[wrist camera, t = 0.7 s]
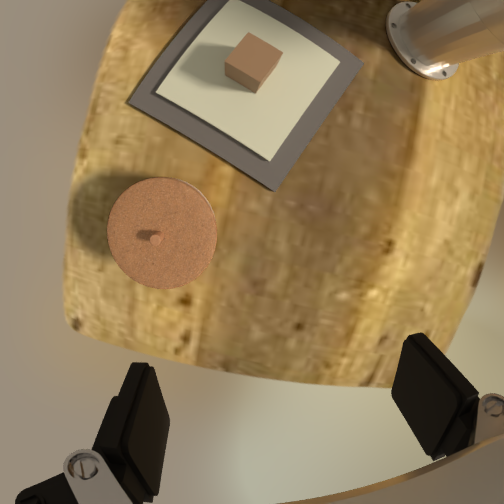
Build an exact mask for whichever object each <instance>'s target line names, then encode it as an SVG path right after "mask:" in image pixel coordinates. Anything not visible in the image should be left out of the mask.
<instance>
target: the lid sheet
mask: <svg viewBox="0 0 504 504" xmlns="http://www.w3.org/2000/svg"><path fill="white" fill-rule="evenodd" d="M339 63H340V61H339V60H337V59H336V58H334V57H333V56H332V55H330V54H329V53H327V52H326V51H325V50H323V49H322V48H320V47H319V46H317V45H316V44H314V43H313V42H311V41H310V40H308V39H307V38H305V37H304V36H302V35H301V34H299V33H297V32H296V31H294V30H293V29H291V28H289V27H288V26H286V25H284V24H283V23H281V22H279V21H277V20H276V19H274V18H272V17H270V16H269V15H267V14H265V13H263V12H261V11H259V10H258V9H256V8H254V7H252V6H250V5H248V4H246V3H244V2H242V1H240V0H229V1H228V2H227V3H226V4H225V6H224V7H223V8H222V9H221V10H220V11H219V12H218V13H217V14H216V15H215V16H214V18H213V19H212V20H211V21H210V22H209V23H208V24H207V26H206V27H205V28H204V29H203V30H202V32H201V33H200V34H199V35H198V36H197V38H196V39H195V40H194V41H193V42H192V44H191V45H190V46H189V47H188V49H187V50H186V51H185V52H184V54H183V55H182V56H181V58H180V59H179V60H178V62H177V63H176V64H175V66H174V67H173V68H172V70H171V71H170V72H169V74H168V75H167V77H166V78H165V79H164V81H163V82H162V84H161V85H160V86H159V88H158V89H157V91H156V93H157V94H159V95H161V96H162V97H164V98H166V99H168V100H170V101H172V102H173V103H175V104H177V105H179V106H180V107H182V108H184V109H186V110H187V111H189V112H191V113H193V114H194V115H196V116H198V117H199V118H201V119H203V120H204V121H206V122H208V123H209V124H211V125H213V126H214V127H216V128H218V129H219V130H221V131H223V132H224V133H226V134H227V135H229V136H231V137H232V138H234V139H235V140H237V141H239V142H240V143H242V144H243V145H245V146H246V147H248V148H249V149H251V150H253V151H254V152H256V153H257V154H259V155H260V156H262V157H263V158H265V159H266V160H268V161H271V159H272V158H273V156H274V155H275V153H276V152H277V150H278V149H279V148H280V146H281V145H282V143H283V142H284V140H285V139H286V137H287V136H288V135H289V133H290V132H291V130H292V129H293V127H294V126H295V125H296V123H297V122H298V120H299V119H300V117H301V116H302V115H303V113H304V112H305V110H306V109H307V108H308V106H309V105H310V103H311V102H312V100H313V99H314V98H315V96H316V95H317V94H318V92H319V91H320V89H321V88H322V87H323V85H324V84H325V82H326V81H327V80H328V78H329V77H330V76H331V74H332V73H333V71H334V70H335V69H336V67H337V66H338V65H339Z"/></svg>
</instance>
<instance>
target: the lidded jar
mask: <svg viewBox="0 0 504 504" xmlns="http://www.w3.org/2000/svg"><path fill="white" fill-rule="evenodd" d="M107 239H108V244H109V248H110V251H111V253H112V255H113V257H114V259H115V261H116V263H117V264H118V265H119V267H120V268H121V269H122V270H123V271H124V272H125V273H126V274H127V275H128V276H129V277H130V278H132V279H133V280H135V281H137V282H138V283H140V284H143V285H145V286H148V287H152V288H157V289H171V288H176V287H180V286H183V285H185V284H188V283H190V282H191V281H193V280H194V279H196V278H197V277H198V276H199V275H200V274H202V272H203V271H204V270H205V269H206V268H207V266H208V265H209V263H210V261H211V259H212V257H213V254H214V252H215V247H216V242H217V227H216V220H215V216H214V212H213V210H212V208H211V205H210V203H209V202H208V200H207V199H206V197H205V196H204V195H203V194H202V193H201V192H200V191H199V190H198V189H197V188H195V187H194V186H193V185H191V184H189V183H187V182H185V181H182V180H180V179H175V178H168V177H154V178H148V179H145V180H142V181H139V182H137V183H135V184H133V185H131V186H130V187H129V188H127V189H126V190H125V191H124V192H123V193H122V194H121V195H120V196H119V197H118V199H117V200H116V202H115V203H114V205H113V207H112V209H111V211H110V215H109V218H108V224H107Z"/></svg>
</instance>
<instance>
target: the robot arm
mask: <svg viewBox="0 0 504 504" xmlns="http://www.w3.org/2000/svg"><path fill="white" fill-rule="evenodd" d="M386 30H387V34H388V38H389V40H390V43H391V45H392V47H393V48H394V50H395V52H396V53H397V55H398V56H399V57H400V59H401V60H402V61H403V62H404V63H405V64H406V65H407V66H408V67H409V68H410V69H411V70H413V71H414V72H415V73H417V74H419V75H420V76H422V77H424V78H427V79H430V80H444V79H447V78H449V77H451V76H452V75H453V74H454V73H455V72H456V70H457V68H458V65H459V63H461V62H465V61H468V60H471V59H475V58H478V57H482V56H486V55H489V54H493V53H497V52H501V51H504V0H422V1H420V2H419V3H415V2H408V1H406V2H401V3H399V4H396V5H395V6H394V7H393V8H391V10H390V11H389V12H388V15H387V18H386ZM391 394H392V398H393V400H394V401H395V403H396V405H397V406H398V408H399V410H400V411H401V413H402V415H403V416H404V418H405V419H406V421H407V423H408V425H409V426H410V428H411V430H412V431H413V433H414V435H415V436H416V438H417V440H418V441H419V443H420V445H421V447H422V448H423V450H424V452H425V453H426V455H428V456H431V457H432V460H433V461H435V460H437V459H439V458H442V457H444V456H445V455H446V458H444V459H441V460H439V461H436V462H434V463H432V464H429V465H427V466H424V467H422V468H419V469H417V470H414V471H411V472H408V473H406V474H403V475H400V476H397V477H395V478H391V479H388V480H385V481H382V482H378V483H375V484H372V485H368V486H365V487H361V488H357V489H353V490H349V491H345V492H341V493H337V494H333V495H328V496H323V497H317V498H312V499H306V500H300V501H294V502H286V503H279V504H504V397H503V396H501V395H499V394H495V393H494V394H493V393H490V394H486V395H484V396H483V397H482V398H481V399H480V398H479V397H478V394H479V392H478V391H477V390H476V389H475V388H474V386H473V385H472V384H471V383H470V382H469V381H468V380H467V379H466V378H465V377H464V376H463V375H462V373H461V372H460V371H459V370H458V369H457V368H456V367H455V366H454V365H453V364H452V363H451V362H450V360H449V359H448V358H447V357H446V356H445V355H444V354H443V353H442V352H441V351H440V350H439V349H438V348H437V347H436V346H435V345H434V344H433V343H432V342H431V341H430V340H429V339H428V337H427V336H426V335H425V334H423V333H416V334H412V335H409V336H408V337H407V339H406V340H404V342H403V346H402V351H401V355H400V359H399V364H398V368H397V372H396V375H395V379H394V383H393V387H392V390H391ZM169 426H170V418H169V414H168V411H167V408H166V405H165V402H164V399H163V396H162V393H161V389H160V387H159V383H158V380H157V376H156V373H155V369H154V367H150V366H149V364H148V363H137V362H133V363H132V364H131V365H130V368H129V370H128V373H127V375H126V378H125V380H124V382H123V385H122V387H121V390H120V392H119V395H118V396H114V397H113V398H112V399H111V401H110V404H109V406H108V409H107V411H106V414H105V416H104V419H103V421H102V424H101V427H100V429H99V432H98V434H97V437H96V439H95V442H94V445H93V447H92V450H89V449H81V450H77V451H75V452H73V453H71V454H70V455H69V456H68V457H67V458H66V460H65V462H64V465H63V470H64V472H63V473H61V474H59V475H57V476H54V477H52V478H50V479H48V480H45V481H43V482H41V483H38V484H36V485H34V486H31V487H29V488H26V489H24V490H23V491H21V492H20V493H19V494H18V496H17V498H16V500H15V504H143V502H150V503H152V502H153V496H157V495H158V493H159V488H160V481H161V474H162V468H163V462H164V455H165V449H166V444H167V438H168V431H169Z"/></svg>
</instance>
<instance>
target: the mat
mask: <svg viewBox="0 0 504 504" xmlns="http://www.w3.org/2000/svg"><path fill="white" fill-rule="evenodd" d="M228 1H229V0H207V1H206V2H205V3H204V5H203V6H202V7H201V8H200V9H199V10H198V11H197V12H196V13H195V14H194V16H193V17H192V18H191V19H190V20H189V21H188V23H187V24H186V25H185V26H184V27H183V28H182V30H181V31H180V32H179V33H178V34H177V36H176V37H175V38H174V39H173V41H172V42H171V43H170V44H169V46H168V47H167V48H166V50H165V51H164V52H163V53H162V55H161V56H160V57H159V59H158V60H157V61H156V63H155V64H154V66H153V67H152V68H151V70H150V71H149V73H148V74H147V75H146V77H145V78H144V80H143V81H142V83H141V84H140V86H139V87H138V88H137V90H136V91H135V93H134V95H133V96H132V98H131V99H130V101H129V102H128V103H130V104H132V105H133V106H135V107H137V108H139V109H141V110H142V111H144V112H146V113H148V114H149V115H151V116H153V117H155V118H156V119H158V120H160V121H162V122H163V123H165V124H167V125H169V126H170V127H172V128H174V129H175V130H177V131H179V132H181V133H182V134H184V135H186V136H187V137H189V138H191V139H192V140H194V141H196V142H197V143H199V144H201V145H202V146H204V147H205V148H207V149H209V150H210V151H212V152H214V153H215V154H217V155H218V156H220V157H222V158H223V159H225V160H226V161H228V162H230V163H231V164H233V165H234V166H236V167H237V168H239V169H241V170H242V171H244V172H245V173H247V174H248V175H250V176H251V177H253V178H254V179H256V180H258V181H259V182H261V183H262V184H264V185H265V186H267V187H268V188H270V189H271V190H273V191H274V192H276V190H277V189H278V187H279V186H280V184H281V183H282V181H283V180H284V178H285V177H286V175H287V174H288V172H289V171H290V170H291V168H292V167H293V165H294V164H295V162H296V161H297V159H298V158H299V156H300V155H301V153H302V152H303V150H304V149H305V148H306V146H307V145H308V143H309V142H310V140H311V139H312V137H313V136H314V134H315V133H316V132H317V130H318V129H319V127H320V126H321V124H322V123H323V121H324V120H325V119H326V117H327V116H328V114H329V113H330V111H331V110H332V108H333V107H334V106H335V104H336V103H337V101H338V100H339V98H340V97H341V96H342V94H343V93H344V91H345V90H346V88H347V87H348V86H349V84H350V83H351V81H352V80H353V78H354V77H355V76H356V74H357V73H358V71H359V70H360V68H361V67H362V66H363V64H364V63H363V62H362V61H361V60H359V59H358V58H357V57H356V56H354V55H353V54H352V53H350V52H349V51H348V50H346V49H345V48H344V47H342V46H341V45H340V44H338V43H337V42H335V41H334V40H333V39H331V38H330V37H328V36H327V35H325V34H324V33H322V32H321V31H319V30H318V29H316V28H315V27H313V26H312V25H310V24H309V23H307V22H305V21H304V20H302V19H301V18H299V17H297V16H296V15H294V14H292V13H291V12H289V11H287V10H285V9H284V8H282V7H280V6H278V5H277V4H275V3H273V2H271V1H269V0H240V1H242V2H244V3H246V4H248V5H250V6H252V7H254V8H256V9H258V10H259V11H261V12H263V13H265V14H267V15H269V16H270V17H272V18H274V19H276V20H277V21H279V22H281V23H283V24H284V25H286V26H288V27H289V28H291V29H293V30H294V31H296V32H297V33H299V34H301V35H302V36H304V37H305V38H307V39H308V40H310V41H311V42H313V43H314V44H316V45H317V46H319V47H320V48H322V49H323V50H325V51H326V52H327V53H329V54H330V55H332V56H333V57H334V58H336V59H337V60H339V61H340V63H339V65H338V66H337V67H336V69H335V70H334V71H333V73H332V74H331V76H330V77H329V78H328V80H327V81H326V82H325V84H324V85H323V87H322V88H321V89H320V91H319V92H318V94H317V95H316V96H315V98H314V99H313V100H312V102H311V103H310V105H309V106H308V108H307V109H306V110H305V112H304V113H303V115H302V116H301V117H300V119H299V120H298V122H297V123H296V125H295V126H294V127H293V129H292V130H291V132H290V133H289V135H288V136H287V137H286V139H285V140H284V142H283V143H282V145H281V146H280V148H279V149H278V150H277V152H276V153H275V155H274V156H273V158H272V159H271V161H268V160H266V159H265V158H263V157H262V156H260V155H259V154H257V153H256V152H254V151H253V150H251V149H249V148H248V147H246V146H245V145H243V144H242V143H240V142H239V141H237V140H235V139H234V138H232V137H231V136H229V135H227V134H226V133H224V132H223V131H221V130H219V129H218V128H216V127H214V126H213V125H211V124H209V123H208V122H206V121H204V120H203V119H201V118H199V117H198V116H196V115H194V114H193V113H191V112H189V111H187V110H186V109H184V108H182V107H180V106H179V105H177V104H175V103H173V102H172V101H170V100H168V99H166V98H164V97H162V96H161V95H159V94H157V93H156V91H157V89H158V88H159V86H160V85H161V84H162V82H163V81H164V79H165V78H166V77H167V75H168V74H169V72H170V71H171V70H172V68H173V67H174V66H175V64H176V63H177V62H178V60H179V59H180V58H181V56H182V55H183V54H184V52H185V51H186V50H187V49H188V47H189V46H190V45H191V44H192V42H193V41H194V40H195V39H196V38H197V36H198V35H199V34H200V33H201V32H202V30H203V29H204V28H205V27H206V26H207V24H208V23H209V22H210V21H211V20H212V19H213V18H214V16H215V15H216V14H217V13H218V12H219V11H220V10H221V9H222V8H223V7H224V6H225V4H226V3H227V2H228Z"/></svg>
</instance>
